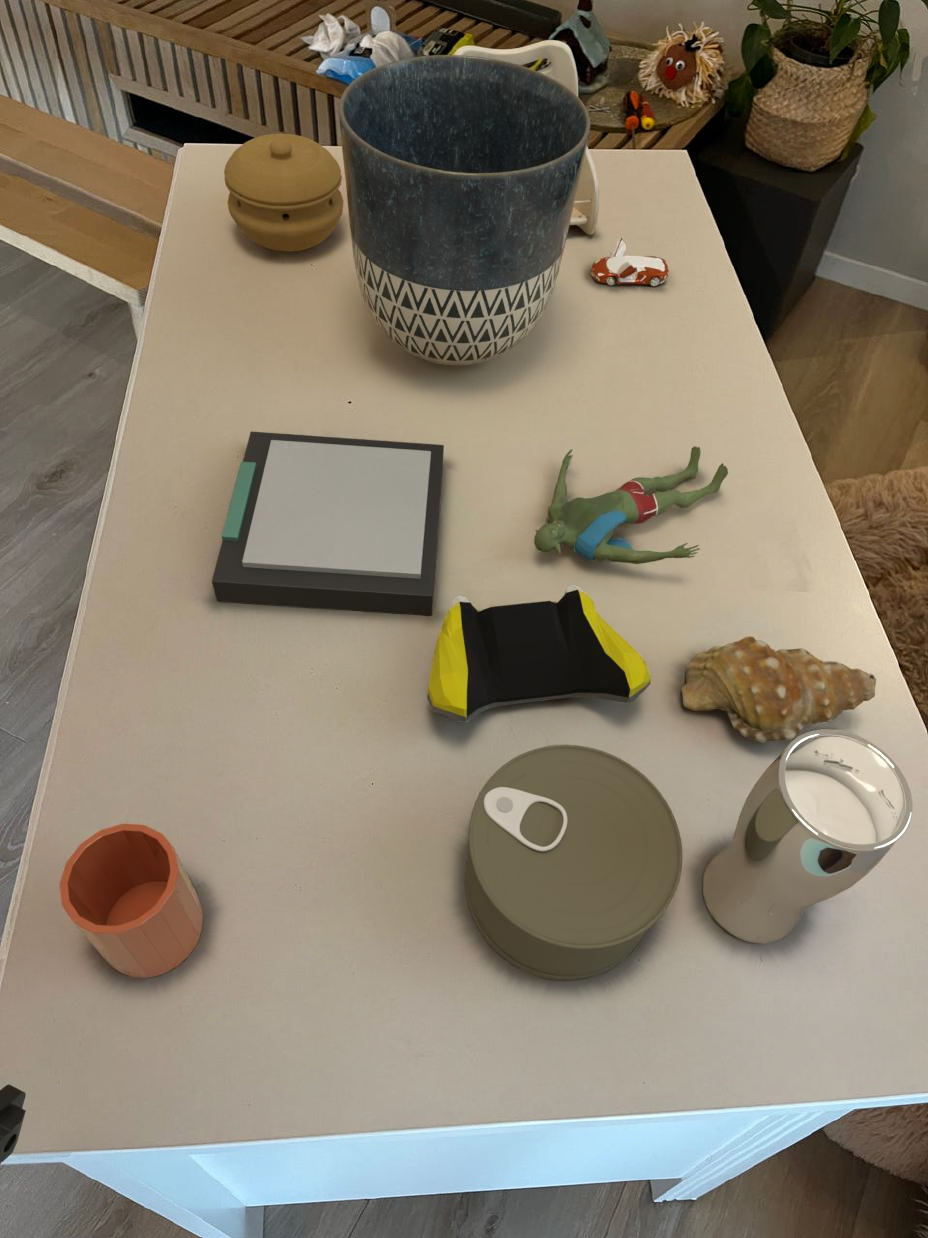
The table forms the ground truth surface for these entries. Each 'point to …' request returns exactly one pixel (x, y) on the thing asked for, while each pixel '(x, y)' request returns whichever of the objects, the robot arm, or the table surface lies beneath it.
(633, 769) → the can
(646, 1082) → the table surface
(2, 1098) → the robot arm
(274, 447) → the scale
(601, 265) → the toy car
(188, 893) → the cup
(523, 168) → the planter
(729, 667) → the seashell
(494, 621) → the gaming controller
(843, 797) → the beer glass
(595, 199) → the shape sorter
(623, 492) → the figurine
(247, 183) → the pot
